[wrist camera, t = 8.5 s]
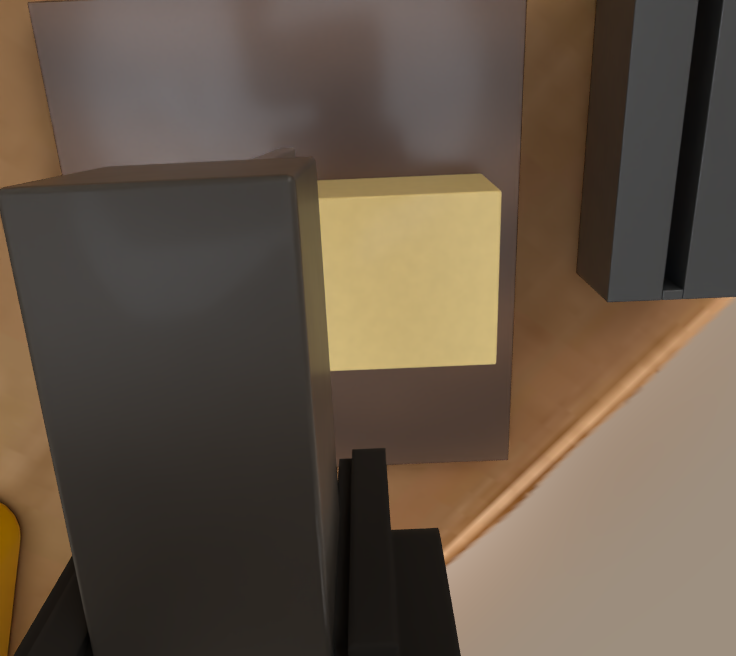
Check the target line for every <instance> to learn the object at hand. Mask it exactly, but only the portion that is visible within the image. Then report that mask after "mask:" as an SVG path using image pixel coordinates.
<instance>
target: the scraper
mask: <svg viewBox="0 0 736 656" xmlns="http://www.w3.org/2000/svg"><path fill="white" fill-rule="evenodd" d="M0 214H1V218H2V223H3V228H4V233H5V237H6V242H7V247H8V252H9V257H10V261H11V266H12V271H13V276H14V280H15V285H16V290H17V295H18V299H19V304H20V309H21V314H22V318H23V323H24V328H25V333H26V337H27V342H28V347H29V352H30V356H31V361H32V366H33V371H34V375H35V380H36V385H37V390H38V395H39V399H40V404H41V409H42V414H43V418H44V423H45V428H46V433H47V437H48V442H49V447H50V452H51V456H52V461H53V466H54V471H55V475H56V480H57V485H58V490H59V494H60V499H61V504H62V509H63V513H64V518H65V523H66V528H67V533H68V537H69V542H70V547H71V552H72V556H73V561H74V566H75V571H76V575H77V580H78V585H79V590H80V594H81V599H82V604H83V609H84V613H85V618H86V623H87V628H88V632H89V637H90V642H91V647H92V651H93V656H334V643H333V641H334V612H335V593H336V574H337V555H338V536H339V517H340V509H339V494H338V479H337V464H336V450H335V435H334V420H333V405H332V391H331V376H330V361H329V346H328V332H327V317H326V302H325V287H324V273H323V258H322V243H321V228H320V214H319V199H318V184H317V169H316V161H315V159H314V158H312V157H296V156H295V149H294V148H279V149H276V150H274V151H271V152H269V153H266V154H263V155H261V156H258V157H256V158H253V159H251V160H230V161H209V162H188V163H168V164H147V165H126V166H107V167H102V168H97V169H92V170H87V171H82V172H77V173H72V174H67V175H62V176H57V177H52V178H47V179H42V180H37V181H32V182H27V183H22V184H17V185H12V186H7V187H3V188H1V189H0Z"/></svg>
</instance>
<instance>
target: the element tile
mask: <svg viewBox="0 0 736 656" xmlns="http://www.w3.org/2000/svg"><path fill="white" fill-rule="evenodd" d="M20 539H21V535H20V527H19V524H18V522H17V519H16V517H15V515H14V514H13V513H12V512H11V511H10V510H9V509H8V507H7V506H5V505H4V504H2V503H0V656H7V655H8V646H9V637H10V628H11V619H12V610H13V601H14V592H15V583H16V575H17V566H18V557H19V548H20Z"/></svg>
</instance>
